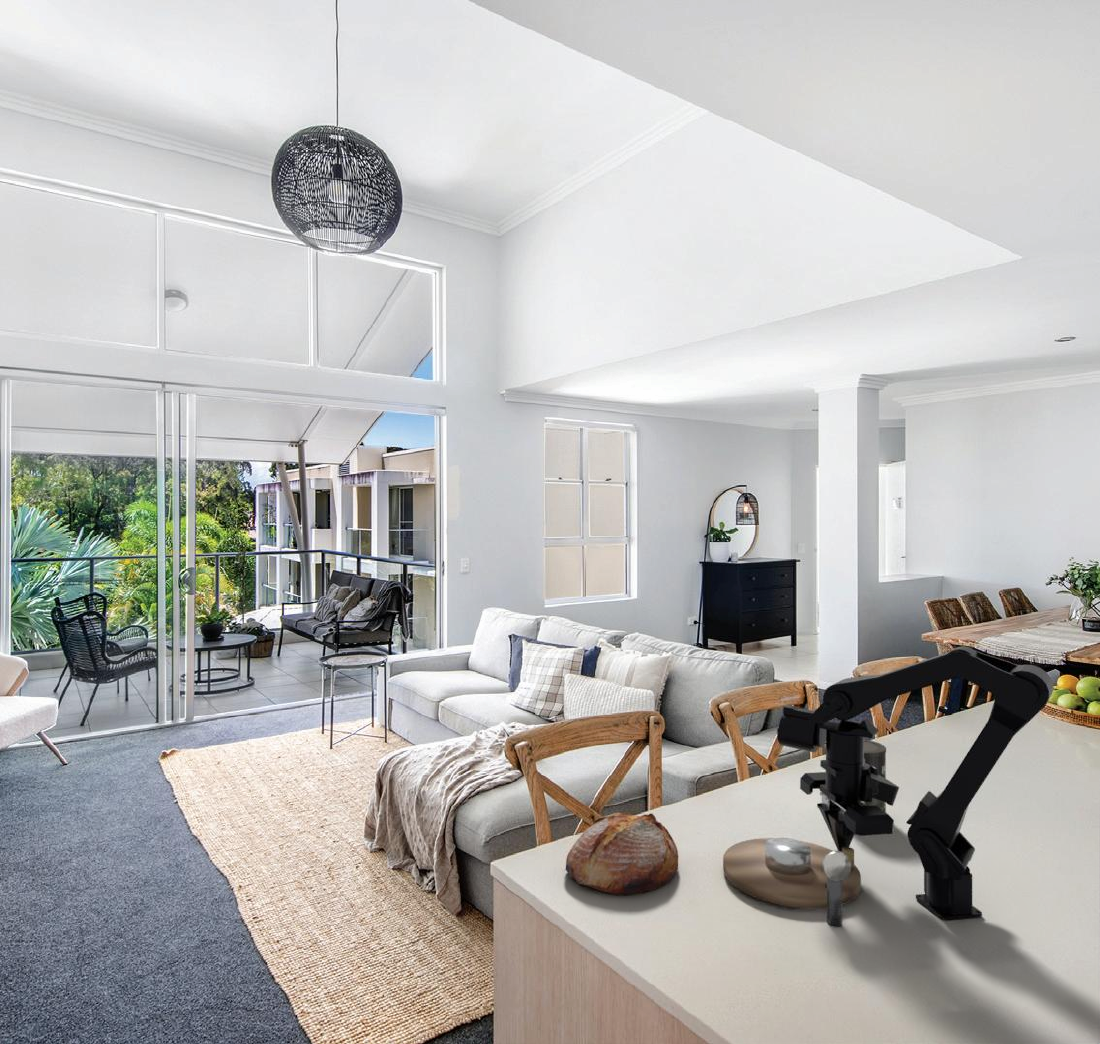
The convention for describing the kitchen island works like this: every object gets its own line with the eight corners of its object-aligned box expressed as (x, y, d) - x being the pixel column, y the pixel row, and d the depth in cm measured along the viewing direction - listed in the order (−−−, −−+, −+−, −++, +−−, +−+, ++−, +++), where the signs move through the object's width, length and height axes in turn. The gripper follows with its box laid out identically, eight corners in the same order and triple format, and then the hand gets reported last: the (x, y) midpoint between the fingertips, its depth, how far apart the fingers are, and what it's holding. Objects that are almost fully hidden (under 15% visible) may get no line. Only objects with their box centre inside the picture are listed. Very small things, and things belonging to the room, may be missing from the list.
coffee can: (879, 809, 149) (879, 739, 149) (892, 830, 139) (892, 754, 139) (825, 805, 151) (825, 736, 151) (834, 825, 141) (834, 751, 141)
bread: (700, 880, 122) (704, 820, 121) (611, 918, 110) (614, 851, 109) (631, 840, 135) (634, 785, 134) (544, 870, 123) (547, 810, 122)
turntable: (880, 912, 108) (880, 881, 108) (732, 904, 110) (732, 873, 110) (839, 849, 129) (839, 823, 129) (716, 844, 131) (715, 818, 131)
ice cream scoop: (851, 926, 105) (851, 852, 105) (825, 928, 105) (824, 853, 105) (839, 914, 108) (839, 842, 108) (814, 917, 108) (813, 844, 108)
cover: (815, 877, 115) (814, 858, 115) (768, 874, 116) (768, 855, 116) (806, 857, 122) (806, 839, 122) (762, 854, 123) (762, 836, 123)
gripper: (927, 777, 112) (925, 879, 112) (859, 738, 130) (857, 825, 131) (858, 781, 110) (856, 884, 111) (799, 740, 129) (797, 829, 129)
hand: (842, 853), depth 120 cm, fingers closed
